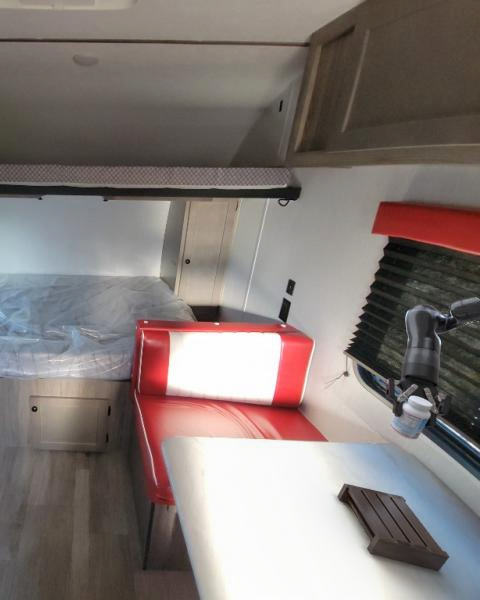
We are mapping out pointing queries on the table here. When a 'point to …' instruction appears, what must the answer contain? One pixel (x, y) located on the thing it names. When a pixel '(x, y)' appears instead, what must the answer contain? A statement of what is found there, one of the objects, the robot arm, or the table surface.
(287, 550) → the table surface
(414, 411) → the pill bottle
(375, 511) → the rack
